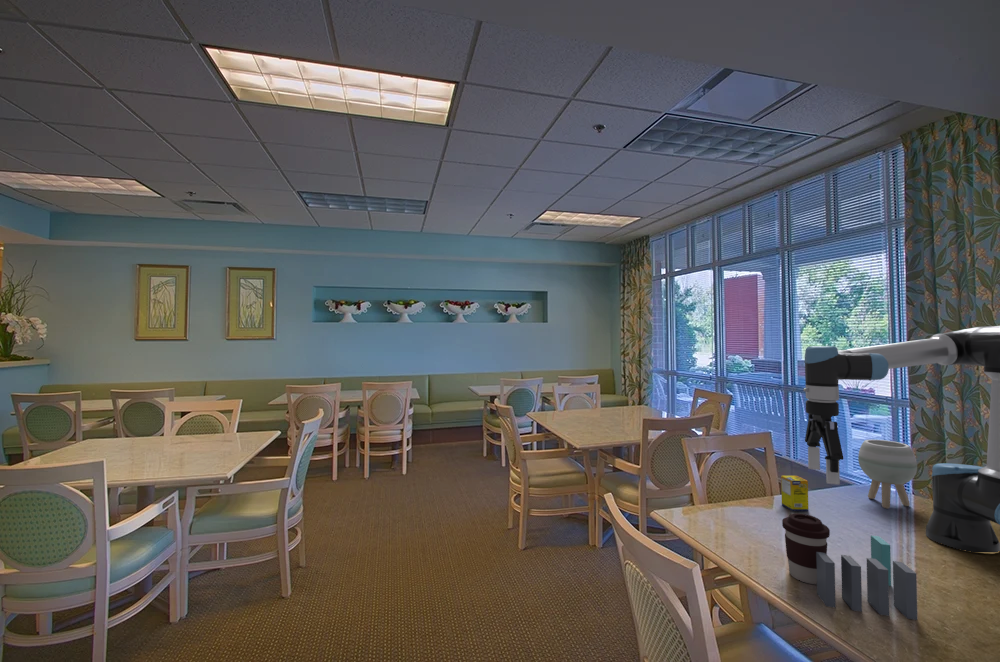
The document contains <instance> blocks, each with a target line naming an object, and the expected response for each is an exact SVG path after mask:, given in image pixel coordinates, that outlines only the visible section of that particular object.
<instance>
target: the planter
mask: <svg viewBox="0 0 1000 662" xmlns="http://www.w3.org/2000/svg"><path fill="white" fill-rule="evenodd" d="M857 456H858V457H857V458H858V465H859V467H860V469H861V471H862V472H863V473H864V474H865V475H866V476H867V477H868V478H869V480H871V482H870V486H869V491H868V494H867V498H868V499H872V500H875V499H876V497H877V494H878V491H879V489H880V487H881V489H880V490H881V506H882V508H883V509H887V510H889V509H890V508H891V496H892V495H891V491H892V485H894V487H895V489H896V492H897V495H898V498H899V499H900V502H901V504H902V505H903V506H904V507H909V506H910V500H909V496H908V494H907V491H906V488H905V484H907V483H909V482H911V481H912V480H913V479H914V478H915V477H916V475H917V472H918V462H917V461H918V460H917V459H916V458H917V457H916V455H915V453H914V451H913V449H912V447H911V446H910V445H908V444H906V443H904V442H900V441H899V442H897V441H893V440H888V439H887V440H886V439H865V440H863V442H862V443H861V445H860V447H859V450H858V455H857Z"/></svg>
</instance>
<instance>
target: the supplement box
mask: <svg viewBox="0 0 1000 662" xmlns="http://www.w3.org/2000/svg"><path fill="white" fill-rule="evenodd" d="M780 482H781V483H780V484H781V485H780V486H781V487H780V488H781V490H780V491H781V506H783V507H784V508H787V510H790V511H792V512H809V480H807V479H804V478H803V477H800V476H798V475H780Z"/></svg>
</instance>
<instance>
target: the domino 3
mask: <svg viewBox="0 0 1000 662" xmlns="http://www.w3.org/2000/svg"><path fill="white" fill-rule="evenodd" d="M870 558H873V559H877V560H878V561H879V562H880V563H881V564H882V565H883V566H884V567H885V568H887V569H888V581H889V587H891V586H892V564H891V561H892V560H891V558H892V557H891V545H890V543H888V542H887V541H886V540H885V539H884V538H882V537H881V536H879V535H870Z"/></svg>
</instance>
